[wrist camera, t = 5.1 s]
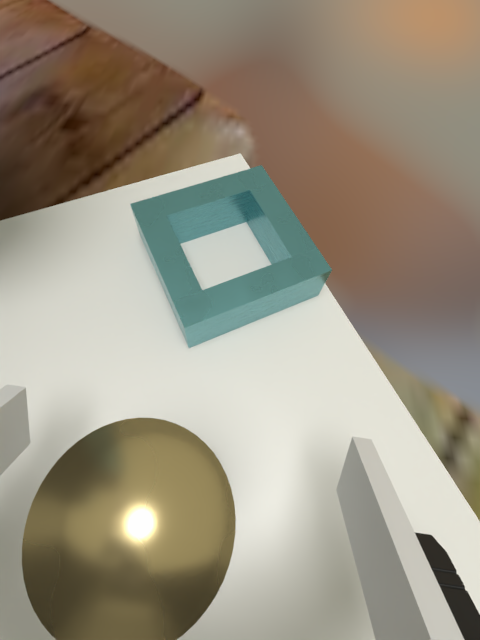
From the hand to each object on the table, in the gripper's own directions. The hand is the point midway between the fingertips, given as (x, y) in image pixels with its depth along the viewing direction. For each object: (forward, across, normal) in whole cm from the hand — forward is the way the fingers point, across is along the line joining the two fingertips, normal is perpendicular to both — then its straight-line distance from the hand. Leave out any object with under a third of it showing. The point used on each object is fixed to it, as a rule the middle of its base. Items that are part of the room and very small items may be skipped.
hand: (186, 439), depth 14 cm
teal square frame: (+12, 0, +5) cm, 13 cm away
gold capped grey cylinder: (+2, 0, -5) cm, 5 cm away
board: (+6, -1, -2) cm, 6 cm away
